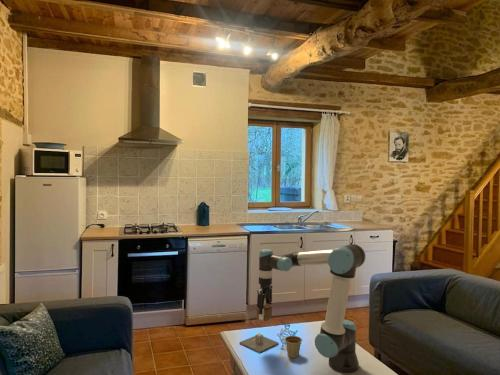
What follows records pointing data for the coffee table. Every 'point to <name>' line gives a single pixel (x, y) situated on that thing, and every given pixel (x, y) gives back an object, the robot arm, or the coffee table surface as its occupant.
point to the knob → (266, 311)
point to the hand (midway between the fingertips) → (264, 317)
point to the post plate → (257, 346)
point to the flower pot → (293, 345)
